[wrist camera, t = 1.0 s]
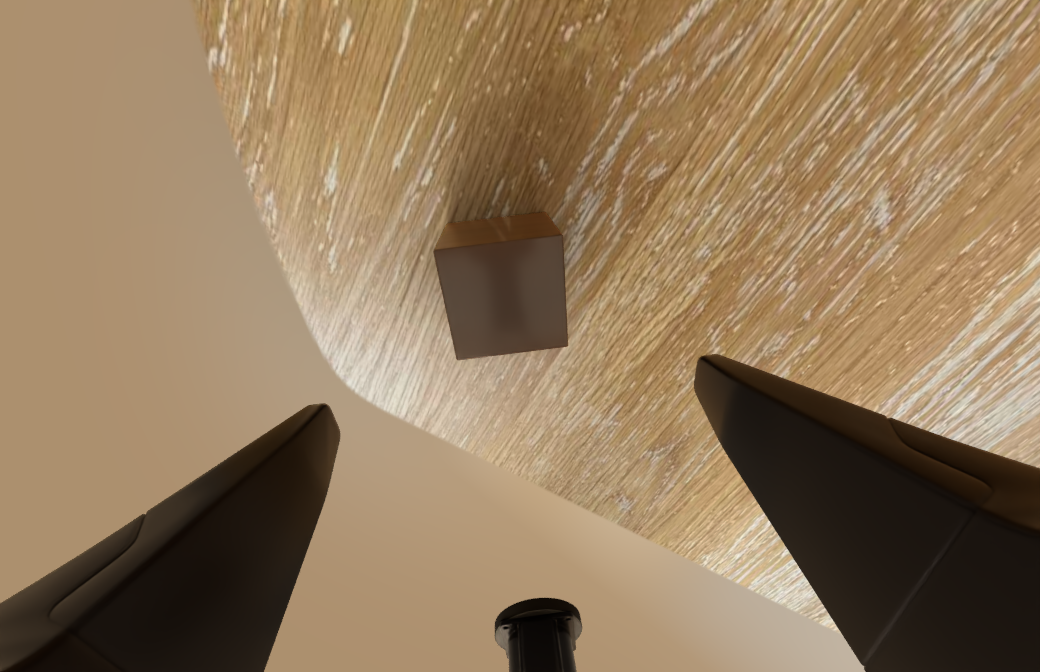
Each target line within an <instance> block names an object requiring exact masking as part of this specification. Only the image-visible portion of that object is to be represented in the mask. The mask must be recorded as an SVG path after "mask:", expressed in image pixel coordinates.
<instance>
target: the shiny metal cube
mask: <svg viewBox="0 0 1040 672" xmlns="http://www.w3.org/2000/svg"><path fill="white" fill-rule="evenodd" d="M433 252H434V257H435V261H436V266H437V271H438V275H439V280H440V284H441V289H442V294H443V298H444V303H445V308H446V312H447V317H448V322H449V326H450V331H451V336H452V340H453V345H454V349H455V354H456V359H457V360H464V359H472V358H480V357H488V356H496V355H504V354H512V353H520V352H528V351H536V350H544V349H552V348H560V347H567V346H568V331H567V310H566V289H565V268H564V247H563V235H562V233H561V232H560V231H559V229H558V228H557V227H556V225H555V224H554V223H553V221H552V220H551V218H550V217H549V216H548V214H547V213H546V212H537V213H529V214H521V215H512V216H504V217H496V218H487V219H479V220H471V221H462V222H454V223H447V224H446V226H445V228H444V230H443V232H442V234H441V236H440V238H439V240H438V242H437V244H436V246H435V248H434V251H433Z"/></svg>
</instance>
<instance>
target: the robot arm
mask: <svg viewBox="0 0 1040 672" xmlns="http://www.w3.org/2000/svg"><path fill="white" fill-rule="evenodd" d="M694 389H695V393H696V395H697V397H698V399H699V401H700V403H701V405H702V407H703V409H704V411H705V414H706V416H707V418H708V420H709V422H710V424H711V426H712V428H713V430H714V432H715V434H716V436H717V438H718V440H719V442H720V443H721V445H722V447H723V449H724V450H725V452H726V454H727V455H728V457H729V458H730V460H731V461H732V463H733V465H734V466H735V468H736V469H737V471H738V472H739V474H740V475H741V477H742V479H743V480H744V482H745V483H746V485H747V486H748V488H749V490H750V491H751V493H752V494H753V496H754V497H755V499H756V500H757V502H758V504H759V505H760V507H761V508H762V510H763V511H764V513H765V515H766V516H767V518H768V519H769V521H770V522H771V524H772V525H773V527H774V529H775V530H776V532H777V533H778V535H779V536H780V538H781V540H782V541H783V543H784V544H785V546H786V547H787V549H788V550H789V552H790V554H791V555H792V557H793V558H794V560H795V561H796V563H797V565H798V566H799V568H800V569H801V571H802V572H803V574H804V575H805V577H806V579H807V580H808V582H809V583H810V585H811V586H812V588H813V589H814V591H815V593H816V594H817V596H818V597H819V599H820V600H821V602H822V604H823V605H824V607H825V608H826V610H827V611H828V613H829V614H830V616H831V618H832V619H833V621H834V622H835V624H836V625H837V627H838V629H839V630H840V632H841V633H842V635H843V636H844V638H845V639H846V641H847V642H848V644H849V646H850V647H851V649H852V650H853V652H854V654H855V655H856V657H857V658H858V660H859V661H860V663H861V664H862V665H863V666H865V667H864V670H865V671H866V672H1040V468H1037V467H1034V466H1031V465H1028V464H1024V463H1021V462H1018V461H1015V460H1012V459H1009V458H1006V457H1003V456H1000V455H997V454H993V453H990V452H987V451H984V450H981V449H978V448H975V447H972V446H969V445H966V444H963V443H960V442H957V441H954V440H951V439H948V438H946V437H943V436H940V435H937V434H934V433H932V432H929V431H926V430H923V429H920V428H917V427H915V426H912V425H909V424H906V423H904V422H901V421H898V420H896V419H893V418H888V419H887V417H886V416H884V415H882V414H879V413H876V412H874V411H871V410H868V409H865V408H863V407H860V406H857V405H854V404H852V403H849V402H846V401H844V400H841V399H838V398H835V397H833V396H830V395H827V394H825V393H822V392H819V391H816V390H814V389H811V388H808V387H805V386H803V385H800V384H797V383H795V382H792V381H789V380H786V379H784V378H781V377H778V376H776V375H773V374H770V373H767V372H765V371H762V370H759V369H757V368H754V367H751V366H748V365H746V364H743V363H740V362H737V361H735V360H732V359H729V358H727V357H724V356H721V355H718V354H712V355H704V356H701V357H699V359H698V361H697V366H696V373H695V380H694ZM339 441H340V429H339V427H338V424H337V422H336V420H335V417H334V415H333V413H332V410H331V409H330V407H329V405H327V404H325V403H323V404H314V405H309V406H307V407H305V408H303V409H302V410H300V411H299V412H297V413H296V414H294V415H293V416H291V417H290V418H288V419H287V420H285V421H284V422H282V423H281V424H279V425H278V426H276V427H275V428H273V429H272V430H270V431H268V432H267V433H265V434H264V435H262V436H261V437H260V438H258V439H257V440H255V441H253V442H252V443H250V444H249V445H247V446H246V447H244V448H243V449H241V450H240V451H238V452H237V453H235V454H234V455H232V456H231V457H229V458H227V459H226V460H224V461H223V462H221V463H220V464H218V465H217V466H215V467H214V468H212V469H211V470H209V471H208V472H206V473H205V474H203V475H202V476H200V477H199V478H197V479H196V480H194V481H192V482H191V483H190V484H188V485H186V486H185V487H183V488H182V489H180V490H179V491H177V492H176V493H174V494H173V495H171V496H170V497H168V498H167V499H165V500H164V501H162V502H161V503H159V504H158V505H156V506H154V507H153V508H151V509H150V510H148V511H147V513H146V514H142V515H141V516H139V517H138V518H136V519H134V520H133V521H132V522H130V523H128V524H127V525H125V526H124V527H122V528H121V529H119V530H118V531H116V532H115V533H113V534H111V535H110V536H108V537H107V538H105V539H104V540H103V541H101V542H99V543H97V544H96V545H94V546H93V547H91V548H90V549H88V550H87V551H85V552H83V553H82V554H80V555H79V556H77V557H76V558H74V559H72V560H71V561H69V562H67V563H66V564H64V565H63V566H61V567H59V568H58V569H56V570H54V571H53V572H51V573H49V574H48V575H46V576H45V577H43V578H41V579H40V580H38V581H36V582H35V583H33V584H31V585H30V586H28V587H26V588H25V589H23V590H22V591H20V592H18V593H17V594H15V595H13V596H12V597H10V598H8V599H7V600H5V601H3V602H2V603H0V672H264V670H265V667H266V664H267V661H268V659H269V656H270V653H271V650H272V647H273V644H274V642H275V639H276V636H277V633H278V630H279V628H280V625H281V622H282V619H283V617H284V614H285V611H286V608H287V605H288V603H289V600H290V597H291V594H292V591H293V589H294V586H295V583H296V580H297V577H298V575H299V572H300V569H301V566H302V563H303V561H304V558H305V555H306V552H307V549H308V547H309V544H310V541H311V538H312V535H313V532H314V530H315V527H316V524H317V521H318V518H319V516H320V513H321V510H322V507H323V504H324V501H325V498H326V495H327V491H328V488H329V483H330V479H331V475H332V471H333V467H334V462H335V458H336V454H337V450H338V445H339ZM500 630H501V634H502V638H503V642H504V646H505V650H506V654H507V658H508V659H509V672H576V666H575V660H574V654H573V651H574V650H575V649H576V645H575V629H574V617H573V613H572V612H571V611H565V612H558V613H550V614H543V615H536V616H528V617H521V618H513V619H506V620H502V621H501V622H500Z"/></svg>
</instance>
